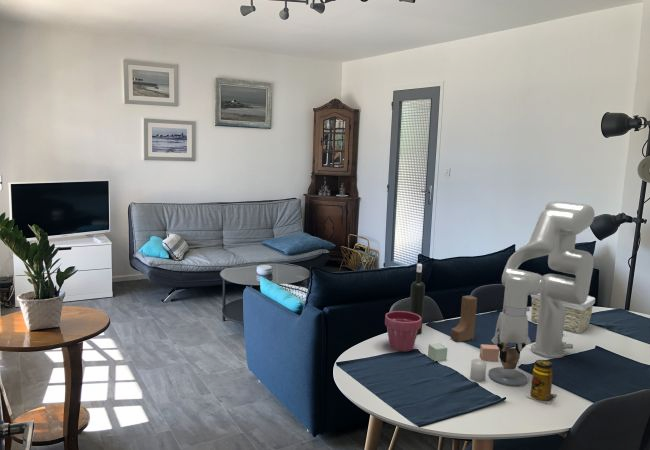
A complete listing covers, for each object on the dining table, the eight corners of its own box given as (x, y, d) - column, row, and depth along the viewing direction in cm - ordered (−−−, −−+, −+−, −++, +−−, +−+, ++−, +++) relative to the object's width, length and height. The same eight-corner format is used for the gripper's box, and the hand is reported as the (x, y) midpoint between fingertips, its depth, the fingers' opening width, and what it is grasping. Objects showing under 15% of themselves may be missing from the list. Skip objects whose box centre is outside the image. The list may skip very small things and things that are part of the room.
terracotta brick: (495, 357, 203) (496, 345, 202) (498, 361, 199) (499, 349, 198) (479, 356, 203) (480, 344, 202) (481, 360, 199) (483, 348, 198)
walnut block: (510, 360, 187) (515, 348, 184) (515, 369, 183) (519, 356, 180) (500, 360, 186) (504, 348, 183) (504, 369, 183) (508, 356, 180)
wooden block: (457, 342, 216) (461, 300, 213) (450, 338, 220) (453, 297, 217) (474, 339, 220) (477, 297, 217) (466, 335, 224) (470, 294, 221)
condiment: (525, 397, 172) (529, 362, 170) (534, 388, 178) (538, 354, 176) (548, 404, 167) (552, 369, 165) (557, 395, 174) (561, 361, 172)
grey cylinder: (481, 375, 187) (483, 359, 186) (487, 381, 182) (488, 365, 181) (467, 375, 186) (469, 359, 185) (473, 381, 181) (474, 365, 180)
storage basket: (593, 327, 241) (597, 296, 239) (581, 336, 229) (585, 303, 227) (540, 314, 257) (543, 284, 255) (526, 321, 245) (530, 291, 243)
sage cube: (438, 355, 203) (439, 342, 202) (446, 360, 198) (447, 347, 197) (427, 356, 201) (428, 344, 200) (435, 362, 196) (436, 349, 196)
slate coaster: (516, 369, 192) (516, 367, 192) (534, 386, 180) (534, 383, 179) (482, 370, 191) (482, 367, 191) (497, 386, 178) (498, 384, 178)
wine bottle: (418, 335, 222) (423, 266, 217) (405, 332, 225) (410, 264, 220) (423, 331, 227) (428, 263, 222) (411, 328, 230) (415, 261, 225)
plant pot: (398, 337, 219) (400, 308, 217) (426, 348, 209) (428, 317, 207) (376, 346, 209) (377, 315, 207) (404, 357, 199) (406, 325, 197)
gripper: (532, 307, 186) (526, 356, 189) (486, 306, 184) (481, 356, 187) (543, 314, 178) (537, 365, 181) (495, 313, 176) (490, 365, 179)
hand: (509, 360), depth 184 cm, fingers closed on walnut block, 4 cm apart
